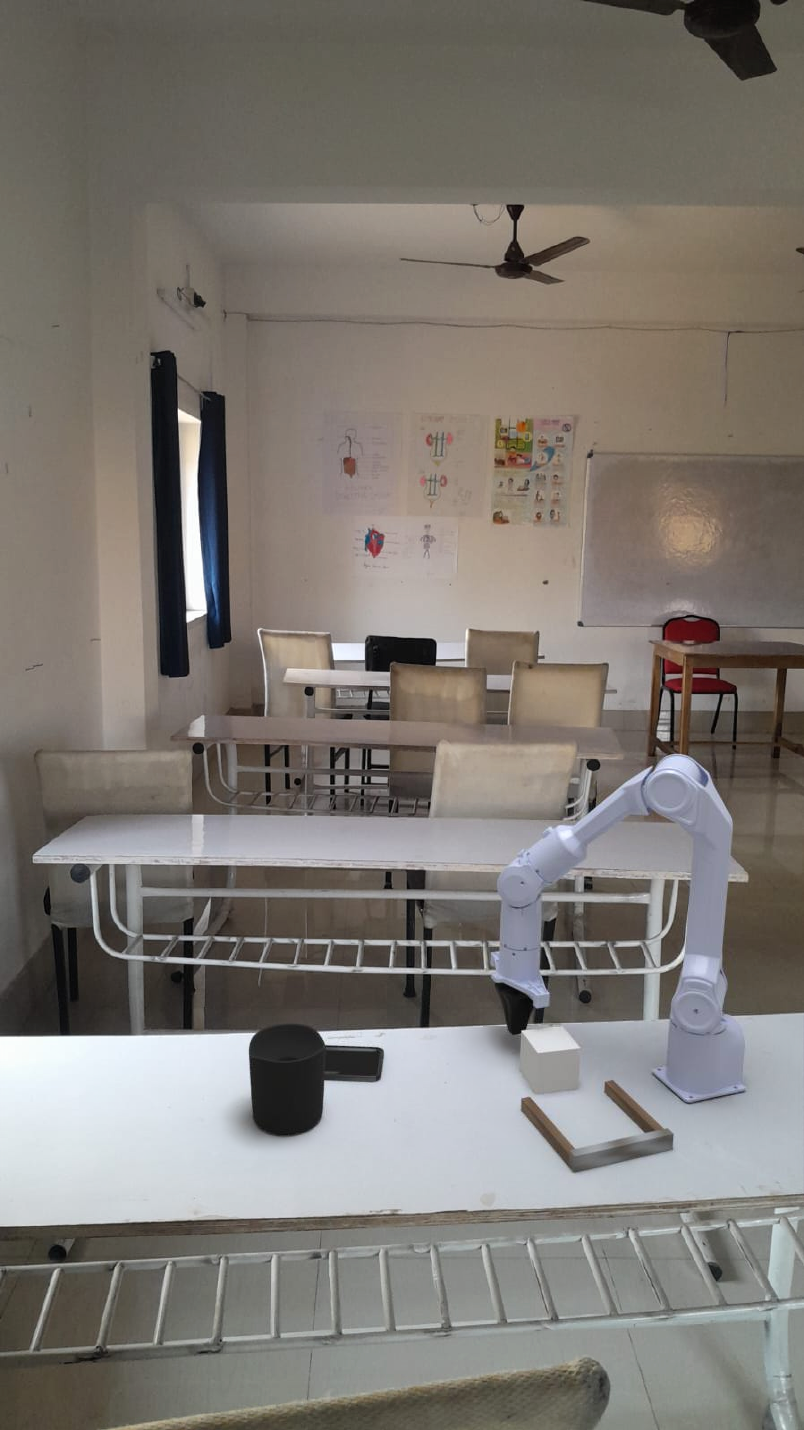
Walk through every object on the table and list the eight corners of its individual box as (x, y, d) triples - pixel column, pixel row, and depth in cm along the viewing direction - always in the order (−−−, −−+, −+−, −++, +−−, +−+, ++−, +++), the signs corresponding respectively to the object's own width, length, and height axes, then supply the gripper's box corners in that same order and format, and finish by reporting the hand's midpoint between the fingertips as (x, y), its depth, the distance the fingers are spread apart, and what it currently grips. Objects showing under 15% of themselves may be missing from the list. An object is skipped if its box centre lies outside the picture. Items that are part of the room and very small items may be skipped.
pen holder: (339, 1106, 123) (339, 1033, 121) (301, 1147, 114) (300, 1069, 112) (275, 1088, 126) (275, 1017, 125) (234, 1126, 118) (233, 1051, 116)
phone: (278, 1043, 136) (384, 1047, 136) (278, 1050, 137) (384, 1054, 136) (268, 1073, 129) (380, 1077, 128) (268, 1081, 129) (380, 1085, 128)
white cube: (578, 1090, 127) (580, 1048, 126) (535, 1095, 126) (537, 1053, 125) (560, 1066, 133) (562, 1025, 132) (519, 1071, 132) (521, 1030, 131)
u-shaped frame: (612, 1090, 127) (613, 1076, 127) (672, 1149, 115) (673, 1133, 115) (520, 1109, 123) (521, 1094, 122) (573, 1172, 110) (574, 1156, 110)
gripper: (472, 926, 141) (470, 1013, 143) (517, 967, 128) (514, 1062, 130) (516, 921, 143) (512, 1006, 146) (564, 960, 130) (560, 1053, 132)
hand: (516, 1032), depth 138 cm, fingers closed
